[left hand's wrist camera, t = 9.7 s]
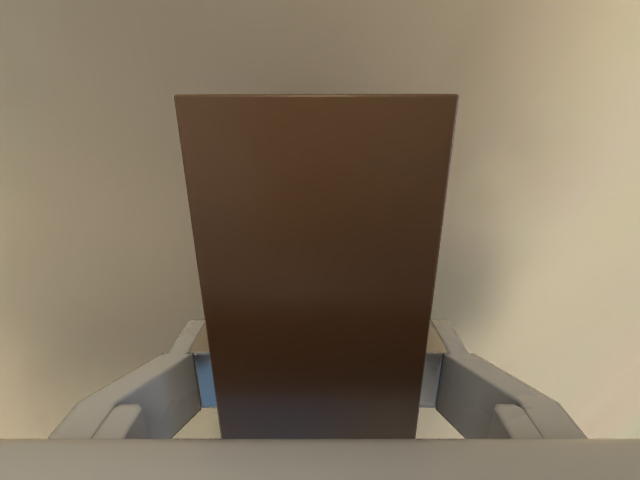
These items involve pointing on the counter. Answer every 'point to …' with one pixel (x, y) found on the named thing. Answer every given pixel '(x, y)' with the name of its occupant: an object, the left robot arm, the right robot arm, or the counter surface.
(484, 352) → the counter surface
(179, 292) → the counter surface
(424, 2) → the counter surface
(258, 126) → the beam
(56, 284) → the counter surface
